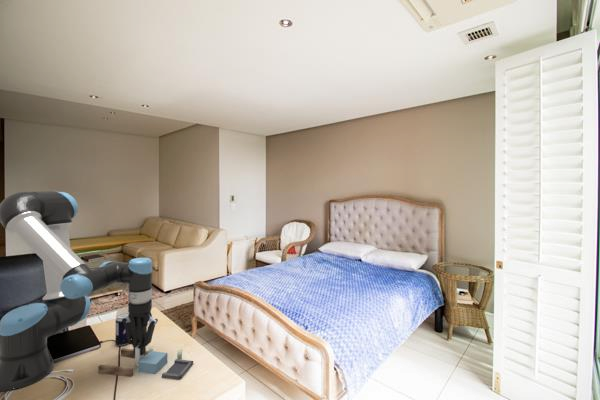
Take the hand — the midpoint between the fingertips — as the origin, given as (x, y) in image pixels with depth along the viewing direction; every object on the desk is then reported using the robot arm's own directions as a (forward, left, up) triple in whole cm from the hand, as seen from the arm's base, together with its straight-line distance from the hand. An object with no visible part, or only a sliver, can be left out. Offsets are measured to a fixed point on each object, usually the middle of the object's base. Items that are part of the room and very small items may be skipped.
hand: (139, 362), depth 103 cm
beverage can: (-17, +13, -2) cm, 22 cm away
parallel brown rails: (-5, 0, -1) cm, 5 cm away
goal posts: (+6, +7, -1) cm, 9 cm away
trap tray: (+15, 0, -1) cm, 15 cm away
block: (+5, 0, -2) cm, 5 cm away
